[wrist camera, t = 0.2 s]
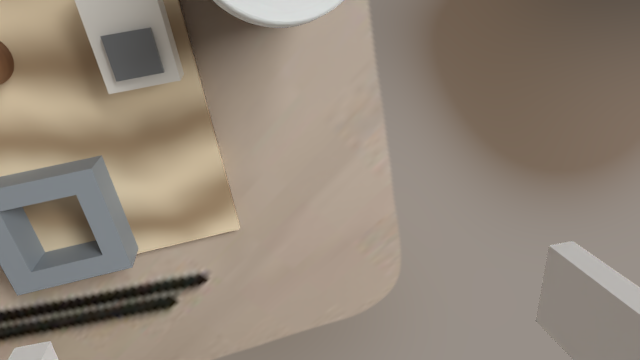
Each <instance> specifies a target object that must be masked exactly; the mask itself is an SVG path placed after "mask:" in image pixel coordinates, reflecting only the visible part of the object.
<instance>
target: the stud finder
mask: <svg viewBox="0 0 640 360" xmlns="http://www.w3.org/2000/svg"><path fill="white" fill-rule="evenodd" d="M75 3H76V6H77V9H78V11H79V14H80V17H81V19H82V22H83V25H84V28H85V30H86V33H87V36H88V39H89V41H90V44H91V47H92V50H93V52H94V55H95V58H96V60H97V63H98V66H99V69H100V71H101V74H102V77H103V80H104V82H105V85H106V88H107V91H108V93H109V94H113V93H118V92H123V91H129V90H134V89H139V88H144V87H149V86H154V85H160V84H165V83H170V82H175V81H180V80H181V79H182V77H183V75H184V72H183V68H182V65H181V61H180V58H179V54H178V51H177V47H176V44H175V40H174V37H173V33H172V30H171V26H170V23H169V19H168V16H167V12H166V9H165V5H164V2H163V0H75Z"/></svg>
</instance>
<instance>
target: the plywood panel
mask: <svg viewBox="0 0 640 360" xmlns="http://www.w3.org/2000/svg"><path fill="white" fill-rule="evenodd" d="M163 2H164V5H165V9H166V12H167V16H168V19H169V23H170V26H171V30H172V33H173V37H174V40H175V44H176V47H177V51H178V54H179V58H180V61H181V65H182V68H183V72H184V75H183V77H182V79H181V80H180V81H175V82H170V83H165V84H160V85H154V86H149V87H144V88H139V89H134V90H129V91H123V92H118V93H113V94H109V93H108V91H107V88H106V85H105V82H104V80H103V77H102V74H101V71H100V69H99V66H98V63H97V60H96V58H95V55H94V52H93V50H92V47H91V44H90V41H89V39H88V36H87V33H86V30H85V28H84V25H83V22H82V19H81V17H80V14H79V11H78V9H77V6H76V3H75V0H0V41H1V42H2V43H3V44H4V45H5V46H6V47H7V48H8V49H9V51H10V52H11V54H12V57H13V60H14V71H13V74H12V76H11V77H10V78H9V79H8V80H7V81H6V82H4V83H2V84H0V177H1V176H6V175H11V174H16V173H20V172H25V171H30V170H35V169H39V168H44V167H49V166H53V165H58V164H63V163H68V162H72V161H77V160H82V159H87V158H91V157H96V156H101V155H102V157H103V160H104V162H105V165H106V167H107V170H108V172H109V175H110V177H111V180H112V182H113V185H114V187H115V190H116V192H117V195H118V197H119V200H120V203H121V205H122V208H123V210H124V213H125V215H126V218H127V220H128V223H129V225H130V228H131V230H132V233H133V235H134V238H135V240H136V243H137V245H138V248H139V249H138V252H137V254H139V253H143V252H147V251H151V250H155V249H160V248H164V247H168V246H172V245H176V244H180V243H184V242H189V241H193V240H197V239H201V238H205V237H209V236H214V235H218V234H222V233H226V232H230V231H234V230H238V229H240V224H239V220H238V216H237V212H236V209H235V205H234V201H233V198H232V194H231V190H230V187H229V183H228V179H227V176H226V172H225V168H224V165H223V161H222V157H221V154H220V150H219V146H218V143H217V139H216V135H215V132H214V128H213V124H212V120H211V117H210V113H209V109H208V106H207V102H206V98H205V95H204V91H203V87H202V84H201V80H200V76H199V73H198V69H197V65H196V62H195V58H194V54H193V51H192V47H191V43H190V40H189V36H188V32H187V28H186V25H185V21H184V17H183V14H182V10H181V6H180V3H179V0H163ZM23 209H24V211H25V213H26V215H27V217H28V219H29V221H30V223H31V225H32V227H33V229H34V231H35V233H36V235H37V237H38V239H39V241H40V243H41V245H42V247H43V249H44V251H45V252H48V251H52V250H56V249H61V248H65V247H69V246H74V245H78V244H82V243H86V242H91V241H95V240H96V239H95V236H94V234H93V232H92V230H91V227H90V225H89V223H88V221H87V218H86V216H85V214H84V212H83V209H82V207H81V205H80V202H79V200H78V198H77V196H76V195H73V196H69V197H64V198H59V199H55V200H50V201H46V202H41V203H37V204H32V205H28V206H23Z"/></svg>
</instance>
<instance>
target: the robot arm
mask: <svg viewBox="0 0 640 360" xmlns="http://www.w3.org/2000/svg"><path fill="white" fill-rule="evenodd" d="M536 322H537V323H538V324H539V325H540V326H541V327H542V328H543V329H544V330H545V331H546V332H547V333H548V334H549V335H550V336H551V337H552V338H553V339H554V340H555V341H556V342H557V344H558V345H559V346H560V347H562V349H563V350H564V351H565V352H566V353H567V354H568V355H569V356H570V357H571V358H572V359H573V360H640V287H638V286H637V285H635V284H633V283H632V282H631V281H629V280H628V279H627V278H625V277H624V276H622V275H621V274H619V273H618V272H616V271H615V270H614V269H612V268H611V267H609V266H608V265H607V264H605V263H604V262H602V261H601V260H599V259H598V258H596V257H595V256H594V255H592V254H591V253H589V252H588V251H586V250H585V249H583V248H582V247H581V246H579V245H578V244H576V243H575V242H573V241H570V242H565V243H560V244H555V245H549V249H548V254H547V261H546V266H545V272H544V277H543V283H542V289H541V295H540V301H539V306H538V312H537V318H536ZM8 360H58V358H57V355H56V353H55V351H54V348H53V346H52V344H51V341H48V342H43V343H38V344H33V345H27V346H22V347H17V348H14V350H13V352H12V354H11V355H10V357H9V359H8Z"/></svg>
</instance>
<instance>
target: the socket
mask: <svg viewBox="0 0 640 360" xmlns="http://www.w3.org/2000/svg"><path fill="white" fill-rule="evenodd" d="M73 195H76V196H77V198H78V200H79V202H80V205H81V207H82V209H83V212H84V214H85V216H86V218H87V221H88V223H89V225H90V227H91V230H92V232H93V234H94V236H95V239H96V240H95V241H91V242H86V243H82V244H78V245H74V246H69V247H65V248H61V249H56V250H52V251H48V252H45V251H44V249H43V247H42V245H41V243H40V241H39V239H38V237H37V235H36V233H35V231H34V229H33V227H32V225H31V223H30V221H29V219H28V217H27V215H26V213H25V211H24V209H23V206H28V205H32V204H37V203H41V202H46V201H50V200H55V199H59V198H64V197H69V196H73ZM138 249H139V248H138V245H137V243H136V240H135V238H134V235H133V233H132V230H131V228H130V225H129V223H128V220H127V218H126V215H125V213H124V210H123V208H122V205H121V203H120V200H119V197H118V195H117V192H116V190H115V187H114V185H113V182H112V180H111V177H110V175H109V172H108V170H107V167H106V165H105V162H104V160H103V157H102V155H101V156H96V157H91V158H87V159H82V160H77V161H72V162H68V163H63V164H58V165H53V166H49V167H44V168H39V169H35V170H30V171H25V172H20V173H16V174H11V175H6V176H1V177H0V266H1V267H2V269H3V271H4V273H5V274H6V276H7V278H8V280H9V281H10V283H11V285H12V287H13V288H14V290H15V292H16V294H17V295H21V294H26V293H30V292H34V291H38V290H42V289H46V288H50V287H54V286H58V285H62V284H66V283H71V282H75V281H79V280H83V279H87V278H91V277H95V276H99V275H103V274H107V273H111V272H116V271H120V270H124V269H128V268H132V267H133V264H134V261H135V258H136V255H137V252H138Z"/></svg>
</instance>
